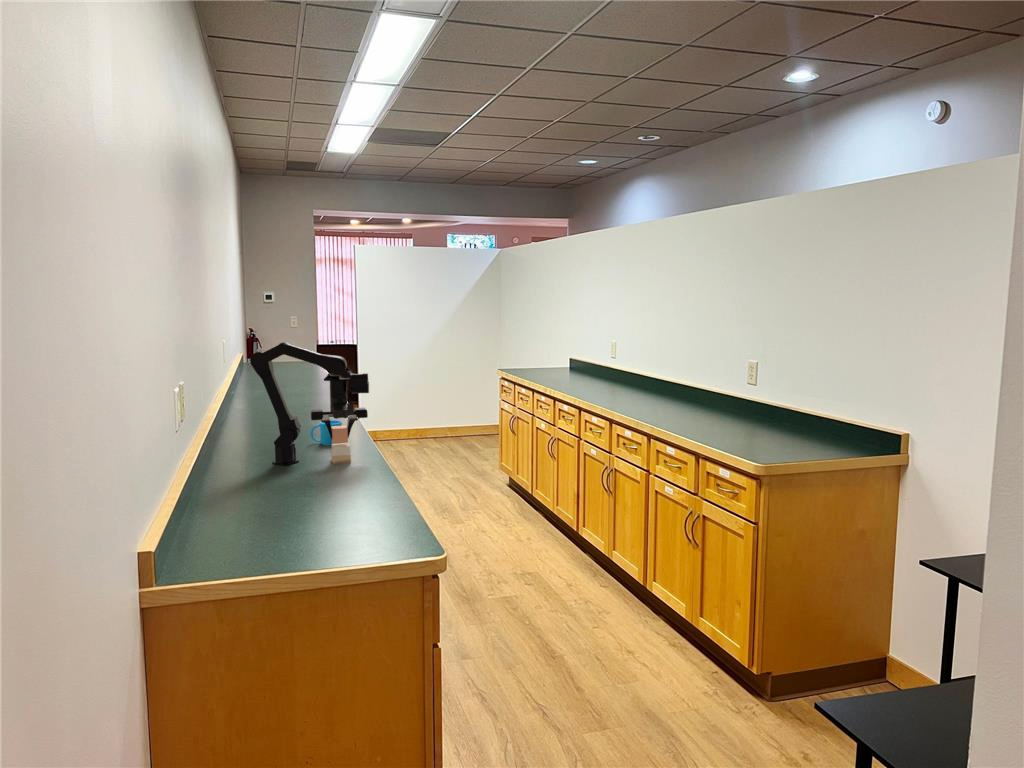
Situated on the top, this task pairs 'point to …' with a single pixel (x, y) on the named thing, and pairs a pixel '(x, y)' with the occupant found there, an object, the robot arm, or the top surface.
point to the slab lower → (341, 459)
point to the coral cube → (339, 434)
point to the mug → (325, 432)
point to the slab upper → (340, 449)
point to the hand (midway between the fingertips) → (339, 438)
